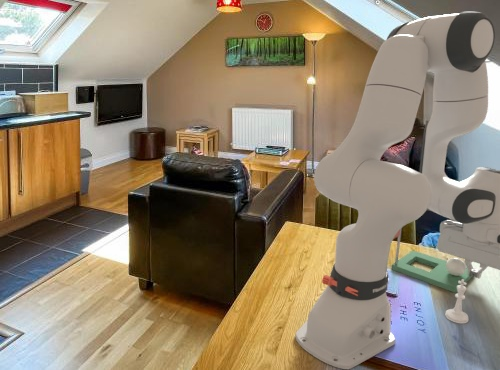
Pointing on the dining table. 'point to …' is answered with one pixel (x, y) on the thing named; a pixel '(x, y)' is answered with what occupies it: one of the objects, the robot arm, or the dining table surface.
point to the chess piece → (458, 306)
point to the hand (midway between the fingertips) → (474, 276)
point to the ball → (456, 266)
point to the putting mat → (435, 276)
